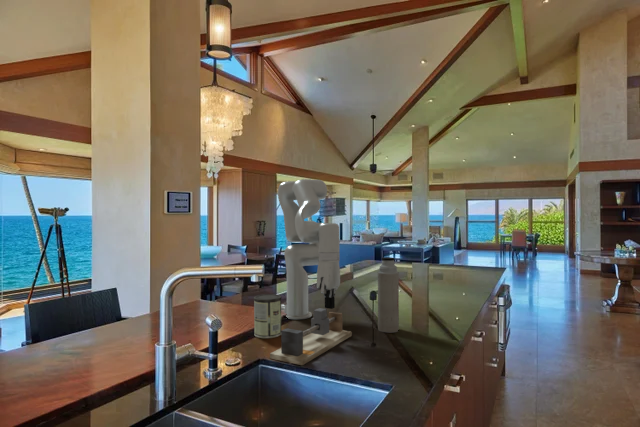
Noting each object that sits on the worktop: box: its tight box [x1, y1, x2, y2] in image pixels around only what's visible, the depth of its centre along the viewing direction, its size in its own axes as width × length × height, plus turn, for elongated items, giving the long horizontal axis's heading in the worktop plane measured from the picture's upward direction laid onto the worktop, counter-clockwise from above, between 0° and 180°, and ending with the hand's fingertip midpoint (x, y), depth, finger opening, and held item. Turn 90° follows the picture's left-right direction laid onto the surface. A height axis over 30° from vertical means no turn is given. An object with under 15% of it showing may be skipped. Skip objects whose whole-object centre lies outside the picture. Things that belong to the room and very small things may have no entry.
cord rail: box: [269, 311, 353, 366], centre depth 136 cm, size 12×34×8 cm, turn 150°
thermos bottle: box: [377, 256, 400, 334], centre depth 156 cm, size 8×8×28 cm
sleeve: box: [310, 307, 329, 335], centre depth 140 cm, size 5×4×8 cm
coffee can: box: [253, 293, 283, 339], centre depth 150 cm, size 10×10×14 cm
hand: (329, 308), depth 145 cm, fingers closed
